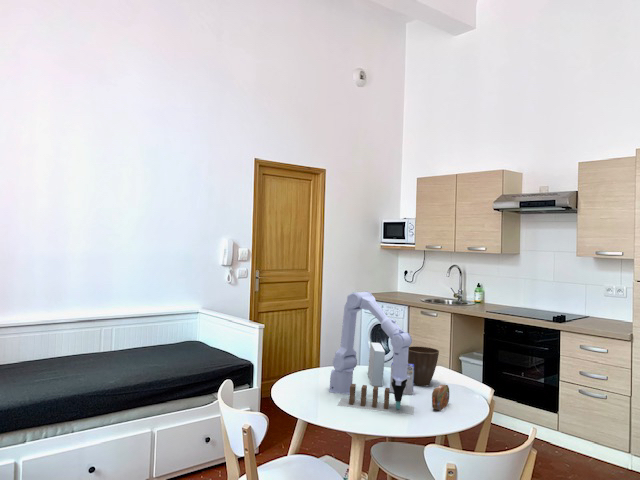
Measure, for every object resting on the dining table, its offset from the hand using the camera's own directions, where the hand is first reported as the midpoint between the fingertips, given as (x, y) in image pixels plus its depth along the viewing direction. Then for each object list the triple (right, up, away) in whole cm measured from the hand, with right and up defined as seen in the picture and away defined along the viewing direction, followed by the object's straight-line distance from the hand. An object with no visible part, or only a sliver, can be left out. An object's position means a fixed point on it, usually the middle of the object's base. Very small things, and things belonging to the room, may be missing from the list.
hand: (398, 399), depth 190 cm
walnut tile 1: (-18, -3, +4) cm, 18 cm away
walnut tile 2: (-13, -3, +3) cm, 14 cm away
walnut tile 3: (-9, -3, +2) cm, 10 cm away
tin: (+17, -5, +5) cm, 19 cm away
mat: (-9, -4, +2) cm, 9 cm away
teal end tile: (0, -3, 0) cm, 3 cm away
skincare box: (-4, -5, +41) cm, 41 cm away
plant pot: (+17, -5, +38) cm, 42 cm away
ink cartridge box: (+5, -5, +23) cm, 24 cm away
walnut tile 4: (-5, -3, +1) cm, 6 cm away
